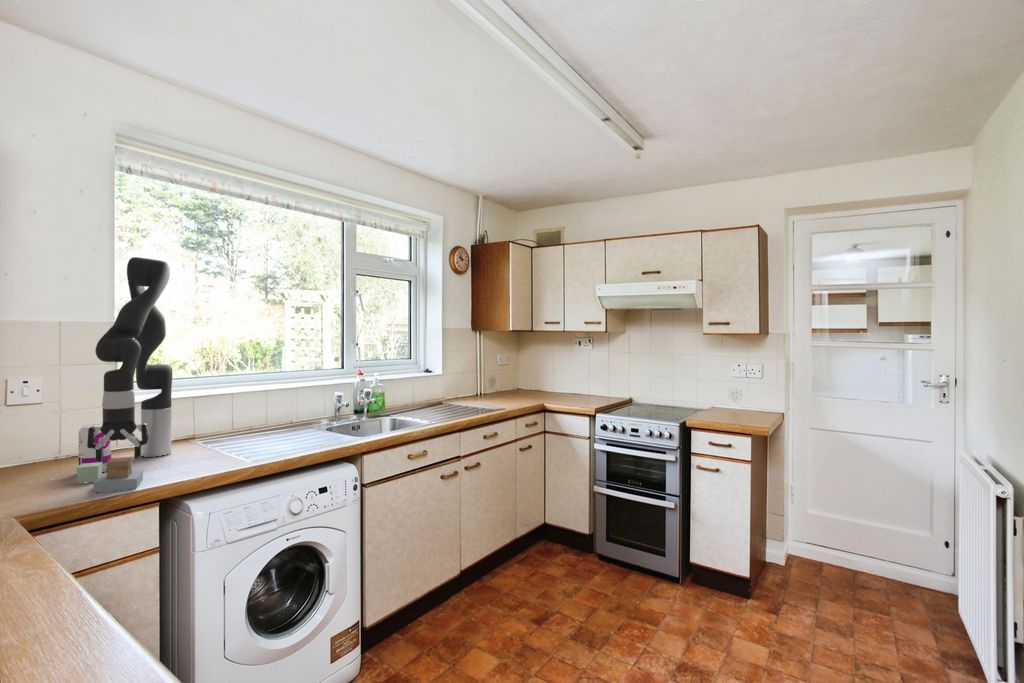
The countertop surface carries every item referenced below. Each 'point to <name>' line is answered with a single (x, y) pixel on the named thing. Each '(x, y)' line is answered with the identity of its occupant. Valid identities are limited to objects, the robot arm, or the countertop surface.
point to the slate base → (118, 482)
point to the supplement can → (90, 453)
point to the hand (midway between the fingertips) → (118, 460)
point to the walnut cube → (118, 467)
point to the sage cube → (89, 472)
